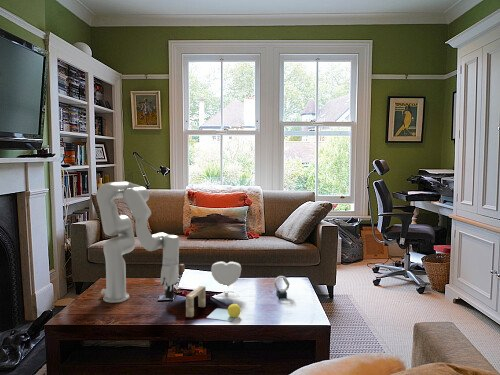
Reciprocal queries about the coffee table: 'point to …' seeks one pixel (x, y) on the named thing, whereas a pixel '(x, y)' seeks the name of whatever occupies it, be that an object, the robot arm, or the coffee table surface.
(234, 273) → the heart sculpture
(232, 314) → the ball
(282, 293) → the watch
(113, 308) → the coffee table surface
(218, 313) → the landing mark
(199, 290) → the bridge
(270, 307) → the coffee table surface
